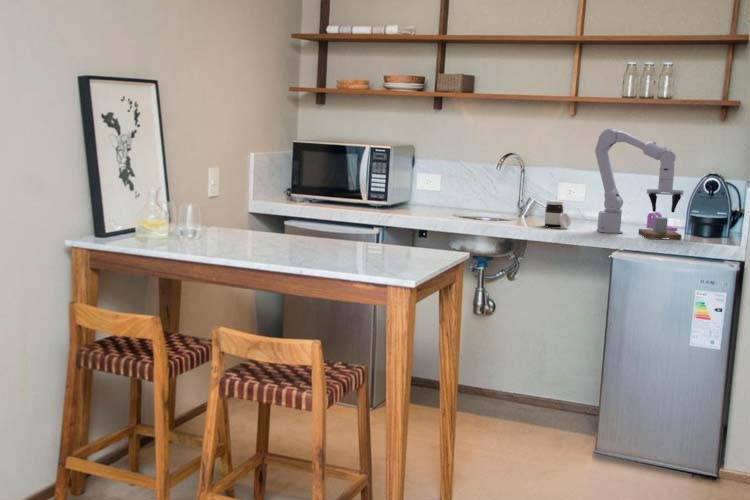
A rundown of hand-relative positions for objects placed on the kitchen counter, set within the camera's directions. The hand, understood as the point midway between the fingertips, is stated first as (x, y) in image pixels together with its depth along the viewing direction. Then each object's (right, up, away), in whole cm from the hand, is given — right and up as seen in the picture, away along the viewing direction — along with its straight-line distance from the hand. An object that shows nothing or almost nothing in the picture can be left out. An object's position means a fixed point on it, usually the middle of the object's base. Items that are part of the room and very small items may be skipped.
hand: (663, 211), depth 355 cm
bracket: (+8, -7, +25) cm, 27 cm away
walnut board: (-1, -10, +1) cm, 11 cm away
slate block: (-1, -8, +1) cm, 9 cm away
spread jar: (-40, -6, +20) cm, 45 cm away
